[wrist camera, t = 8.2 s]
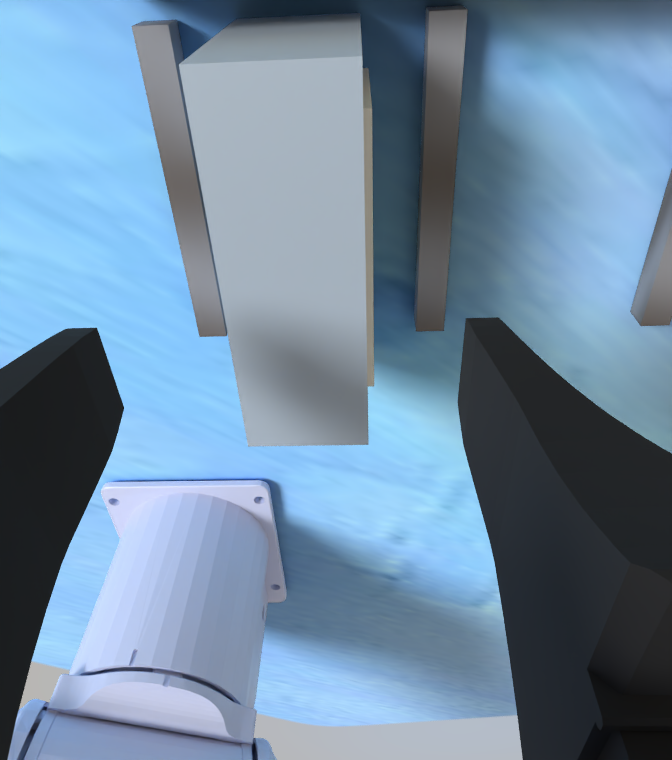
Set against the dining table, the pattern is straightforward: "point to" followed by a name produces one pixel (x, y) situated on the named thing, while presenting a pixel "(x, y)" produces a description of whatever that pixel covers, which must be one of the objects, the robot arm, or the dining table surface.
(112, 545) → the dining table surface
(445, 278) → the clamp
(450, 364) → the dining table surface
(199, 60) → the grey rectangular block
